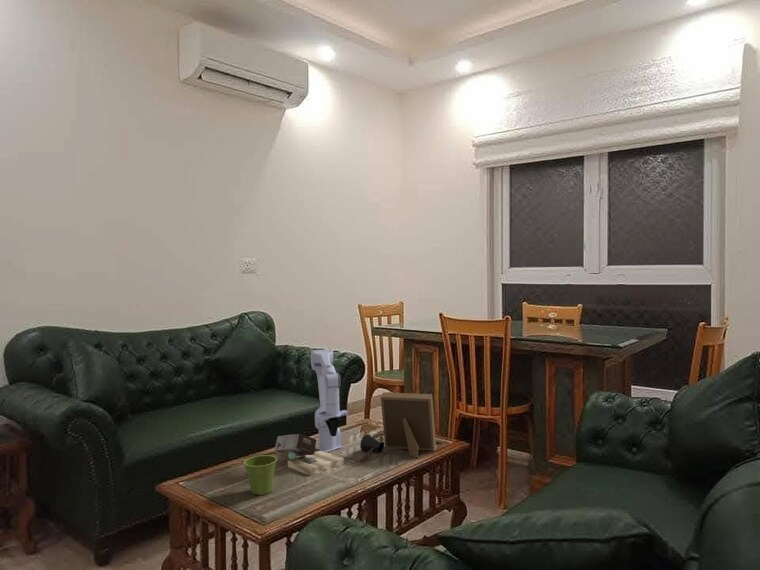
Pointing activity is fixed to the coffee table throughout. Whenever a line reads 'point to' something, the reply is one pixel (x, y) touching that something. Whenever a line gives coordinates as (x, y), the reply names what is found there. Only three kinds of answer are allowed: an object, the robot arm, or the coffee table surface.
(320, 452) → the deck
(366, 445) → the coffee pot
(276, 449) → the coffee box
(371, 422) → the coffee table surface
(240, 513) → the coffee table surface
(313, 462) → the ball
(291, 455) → the teal ball
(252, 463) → the plant pot
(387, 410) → the photo frame
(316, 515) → the coffee table surface
